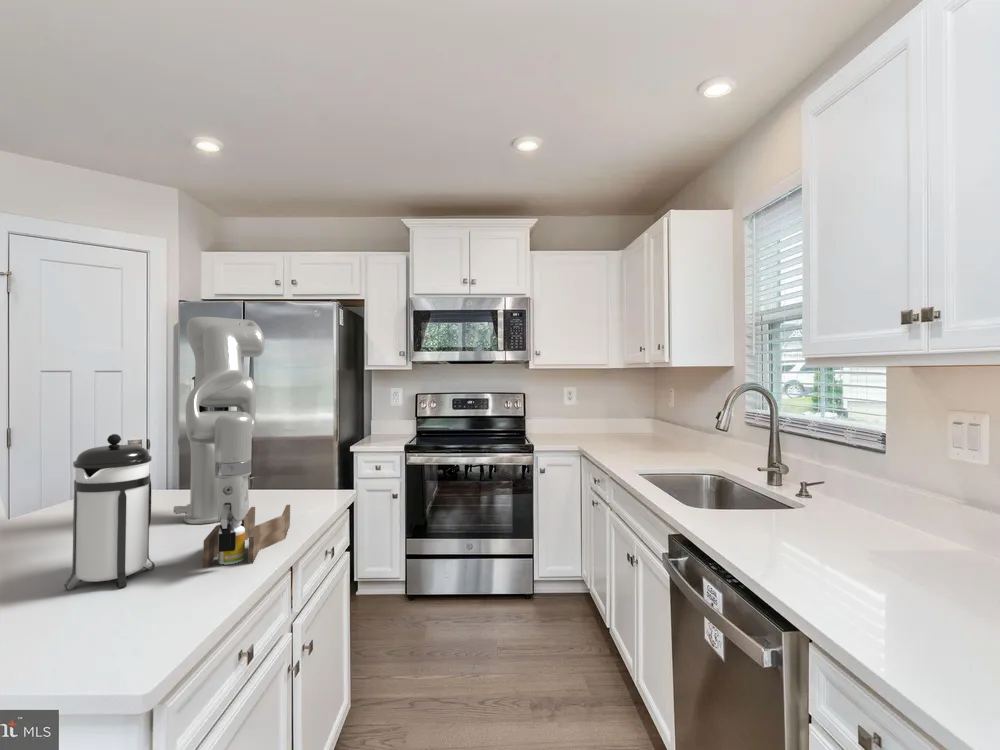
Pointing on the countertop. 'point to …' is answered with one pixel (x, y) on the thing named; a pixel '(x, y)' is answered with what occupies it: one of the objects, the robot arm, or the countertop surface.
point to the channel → (251, 535)
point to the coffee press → (111, 513)
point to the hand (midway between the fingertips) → (231, 543)
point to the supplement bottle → (239, 551)
